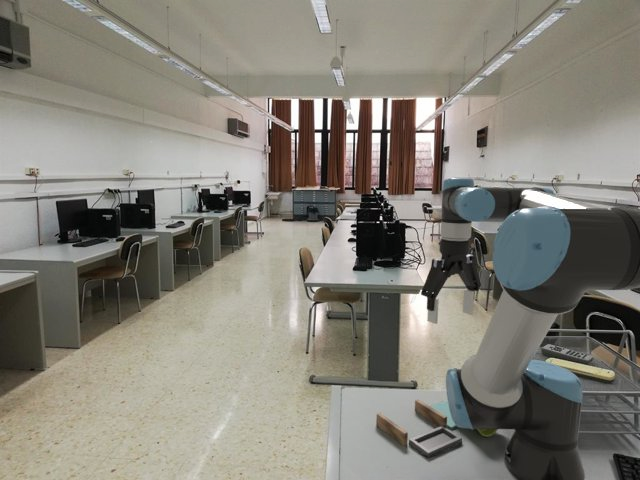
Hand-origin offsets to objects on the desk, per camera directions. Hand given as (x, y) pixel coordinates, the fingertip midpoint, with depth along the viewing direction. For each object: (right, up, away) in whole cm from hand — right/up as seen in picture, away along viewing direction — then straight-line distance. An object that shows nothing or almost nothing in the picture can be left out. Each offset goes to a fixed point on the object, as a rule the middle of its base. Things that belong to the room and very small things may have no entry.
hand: (450, 317), depth 114 cm
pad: (-1, -25, -2) cm, 25 cm away
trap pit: (-8, -27, -14) cm, 31 cm away
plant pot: (+1, -22, -4) cm, 22 cm away
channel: (-12, -26, -7) cm, 29 cm away
